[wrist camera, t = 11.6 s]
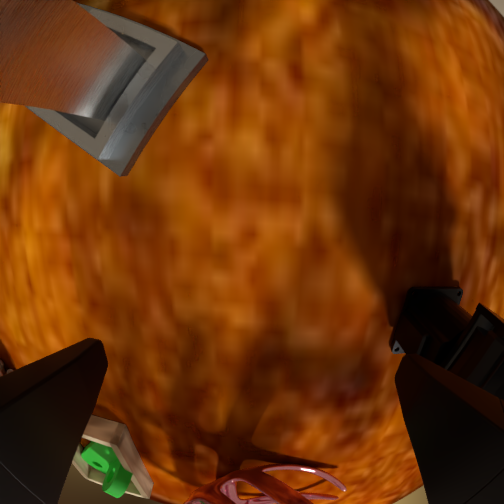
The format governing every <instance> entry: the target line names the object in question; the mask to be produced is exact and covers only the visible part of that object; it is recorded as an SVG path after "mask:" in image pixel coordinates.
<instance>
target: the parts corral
mask: <svg viewBox="0 0 504 504" xmlns="http://www.w3.org/2000/svg"><path fill="white" fill-rule="evenodd" d="M82 438H85V439H88V440H91V441H94V442H96V443H99V444H102V445H106V446H109V447H112V449H113V451H114V452H115V454H116V456H117V458H118V459H119V461H120V463H121V464H122V466H123V468H124V469H125V470H127V471H129V472H131V473H133V475H132V478H131V481H130V483H129V486H128V488H127V489H126V491H125V493H128V494H132V495H135V496H139V497H143V498H147V499H150V495H151V491H152V487H153V484H154V483H153V481H152V480H151V478H150V476H149V474H148V472H147V470H146V468H145V466H144V464H143V462H142V460H141V458H140V456H139V454H138V451H137V449H136V447H135V445H134V443H133V440H132V438H131V436H130V433H129V431H128V429H127V426H126V424H122V423H118V422H115V421H111V420H107V419H104V418H101V417H97V416H94V415H91V417H90V419H89V422H88V424H87V426H86V429H85V431H84V433H83V436H82ZM83 450H84V449H83V447H82V446H81V444H80V443H79V446H78V448H77V451H76V453H75V456H74V458H73V461H72V463H73V465H74V466H75V467H76V468H77V469H78V471H79V472H80V473H81V474H82V476H83V477H84V478H85V479H88V480H90V481H93V482H95V483H98V484H101V485H103V481H104V479H105V476H106V474H104V473H102V472H100V471H99V470H97V469H95V468H94V467H92V466H91V465H89V464H88V463H87V462H85V461H84V460H83V458H82V457H81V454H82V452H83Z"/></svg>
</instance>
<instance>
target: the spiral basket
mask: <svg viewBox="0 0 504 504" xmlns="http://www.w3.org/2000/svg"><path fill="white" fill-rule="evenodd" d="M273 470H297V471H303V472H308V473H311V474H314V475H317V476H320V477H322V478H324V479H326V480H328V481H329V482H331V483H333V484H334V485H335V486H337V487H338V488H339V489H341V490H342V491H346V487H345V485H344V484H343V483H342V482H341V481H339V480H338V479H337V478H335V477H334V476H332V475H331V474H329V473H327V472H325V471H323V470H320V469H317V468H314V467H310V466H306V465H300V464H268V465H261V466H255V467H249V468H244V469H240V470H236V471H233V472H230V473H228V474H227V475H225V476H223V477H221V478H219V479H217V480H215V481H213V482H211V483H209V484H206V485H203V486H201V487H199V488H197V489H196V490H194V491H193V492H192V493H191V494H190V496H189V498H188V499H187V500H186V502H185V503H184V504H273V503H276V504H313V503H312V502H311V501H309V500H308V499H329V500H335V499H338V497H337V496H334V495H328V494H320V493H298V492H297V491H296V490H294V489H293V488H291V487H290V486H288V485H287V484H285V483H283V482H282V481H280V480H278V479H276V478H275V477H273V476H271V475H269V474H266V473H264V472H266V471H273ZM237 481H244V482H247V483H249V484H250V485H252V486H253V487H255V488H256V489H258V490H259V491H261V492H262V493H264V494H265V496H259V497H254V498H249V499H240V498H239V497H238V494H237Z"/></svg>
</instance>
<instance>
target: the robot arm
mask: <svg viewBox="0 0 504 504" xmlns="http://www.w3.org/2000/svg"><path fill="white" fill-rule="evenodd" d="M413 292H415V293H414V294H413ZM412 294H413V295H412ZM462 294H463V290H462V289H461V288H460V287H412V288H410V289H409V291H408V293H407V297H406V301H405V304H404V308H403V311H402V313H401V316H400V320H399V323H398V326H397V329H396V332H395V335H394V340H393V343H392V346H391V351H392V353H394V354H399V353H406V355H404V356H403V358H402V360H401V362H400V365H399V367H398V370H397V372H396V375H395V384H396V388H397V392H398V396H399V401H400V405H401V409H402V414H403V418H404V421H405V425H406V428H407V431H408V434H409V437H410V440H411V443H412V446H413V449H414V453H415V456H416V459H417V463H418V466H419V469H420V473H421V477H422V480H423V484H424V488H425V491H426V495H427V499H428V504H504V319H503V318H501V317H500V316H498V315H497V314H496V313H494V312H493V311H491V310H490V309H488V308H487V307H485V306H484V305H482V304H481V303H479V304H478V305H477V307H476V311H475V313H474V314H473V316H471V315H470V314H469V313H468V312H467V311H465V310H464V309H463V308H462V307H461V306H459V304H460V301H461V298H462ZM395 348H396V349H395ZM107 367H108V361H107V357H106V354H105V350H104V346H103V343H102V341H101V340H99V339H94V338H87V339H85V340H83V341H80V342H78V343H76V344H74V345H71V346H69V347H67V348H65V349H62V350H60V351H58V352H56V353H53V354H51V355H49V356H46V357H44V358H42V359H40V360H37V361H35V362H33V363H30V364H28V365H26V366H24V367H21V368H19V369H17V370H14V371H12V372H10V373H7V374H5V375H3V376H0V504H58V500H59V497H60V494H61V491H62V488H63V486H64V483H65V480H66V477H67V474H68V472H69V468H70V466H71V464H72V461H73V458H74V456H75V453H76V451H77V448H78V446H79V443H80V441H81V438H82V436H83V433H84V431H85V429H86V426H87V424H88V422H89V419H90V417H91V415H92V412H93V410H94V407H95V404H96V402H97V398H98V395H99V392H100V389H101V386H102V383H103V380H104V377H105V374H106V371H107Z"/></svg>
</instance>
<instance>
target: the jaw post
mask: <svg viewBox="0 0 504 504" xmlns="http://www.w3.org/2000/svg"><path fill="white" fill-rule="evenodd" d="M146 61H147V60H145V59H144V58H143V57H142V56H141V55H140V54H139V53H137V52H136V51H135V50H134V49H133V48H132V47H130V46H129V45H128V44H127V43H126V42H125V41H123V40H122V39H121V38H120V37H119V36H117V35H116V34H115V33H114V32H113V31H111V30H110V29H109V28H108V27H106V26H105V25H104V24H103V23H101V22H100V21H99V20H98V19H96V18H95V17H94V16H93V15H91V14H90V13H89V12H87V11H86V10H85V9H83V8H82V7H81V6H80V5H78V4H77V3H75V2H74V1H73V0H0V102H2V103H10V104H17V105H25V106H31V107H37V108H44V109H49V110H55V111H60V112H65V113H70V114H75V115H80V116H85V117H89V118H94V119H98V120H102V121H105V120H106V119H107V117H108V115H109V114H110V112H111V111H112V109H113V107H114V106H115V104H116V103H117V101H118V100H119V98H120V97H121V95H122V94H123V92H124V91H125V89H126V88H127V86H128V85H129V83H130V82H131V81H132V79H133V78H134V76H135V75H136V74H137V72H138V71H139V70H140V68H141V67H142V66H143V64H144V63H145V62H146Z"/></svg>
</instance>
